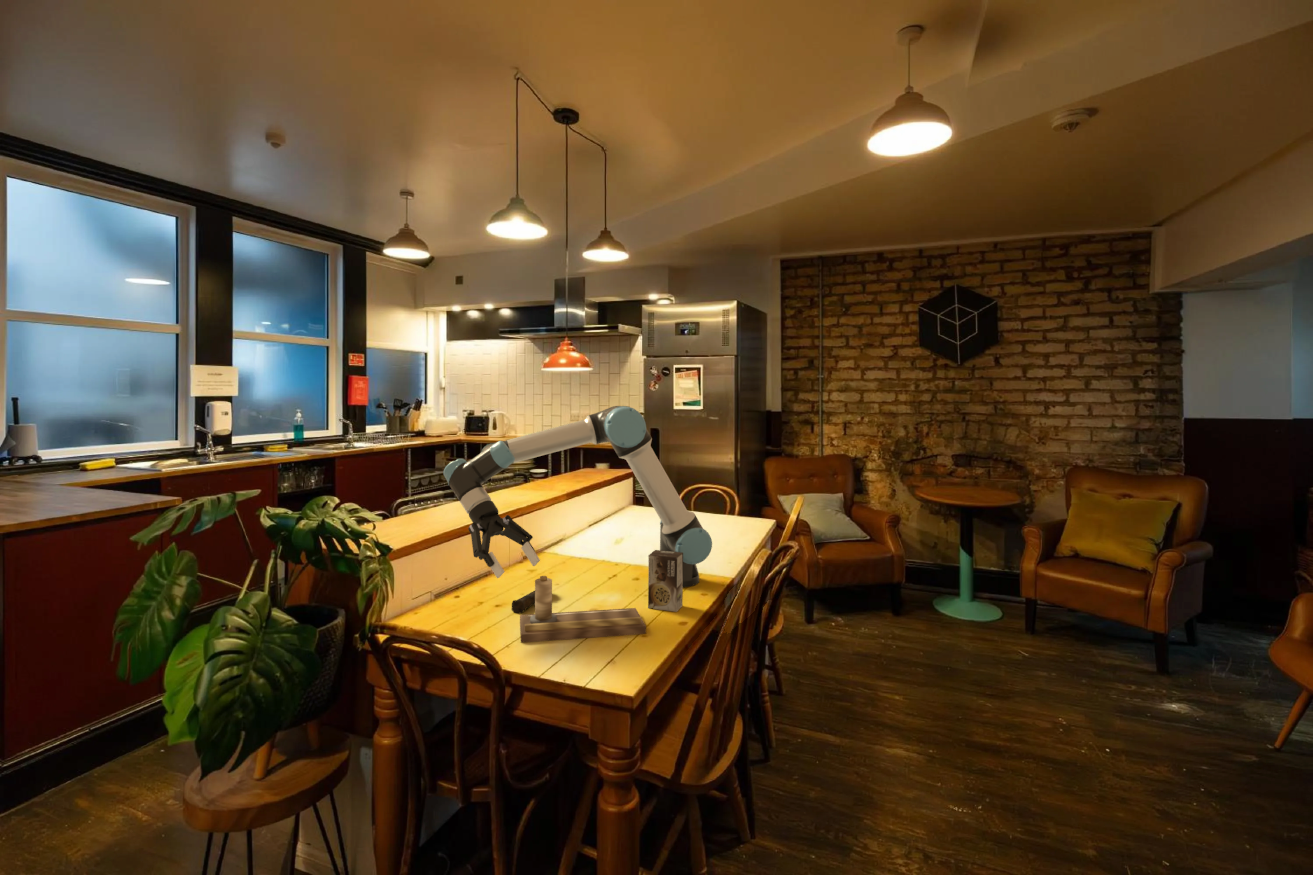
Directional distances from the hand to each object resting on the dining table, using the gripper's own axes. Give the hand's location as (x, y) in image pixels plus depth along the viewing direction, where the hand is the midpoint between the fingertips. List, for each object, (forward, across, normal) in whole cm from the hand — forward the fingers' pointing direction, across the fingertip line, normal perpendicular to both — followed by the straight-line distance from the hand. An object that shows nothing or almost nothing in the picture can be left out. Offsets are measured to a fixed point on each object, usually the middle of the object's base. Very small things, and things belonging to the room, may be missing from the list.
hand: (519, 569), depth 167 cm
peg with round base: (+15, 0, -3) cm, 15 cm away
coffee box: (+29, -33, +8) cm, 45 cm away
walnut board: (+22, -6, +1) cm, 23 cm away
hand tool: (+5, -14, -16) cm, 22 cm away
